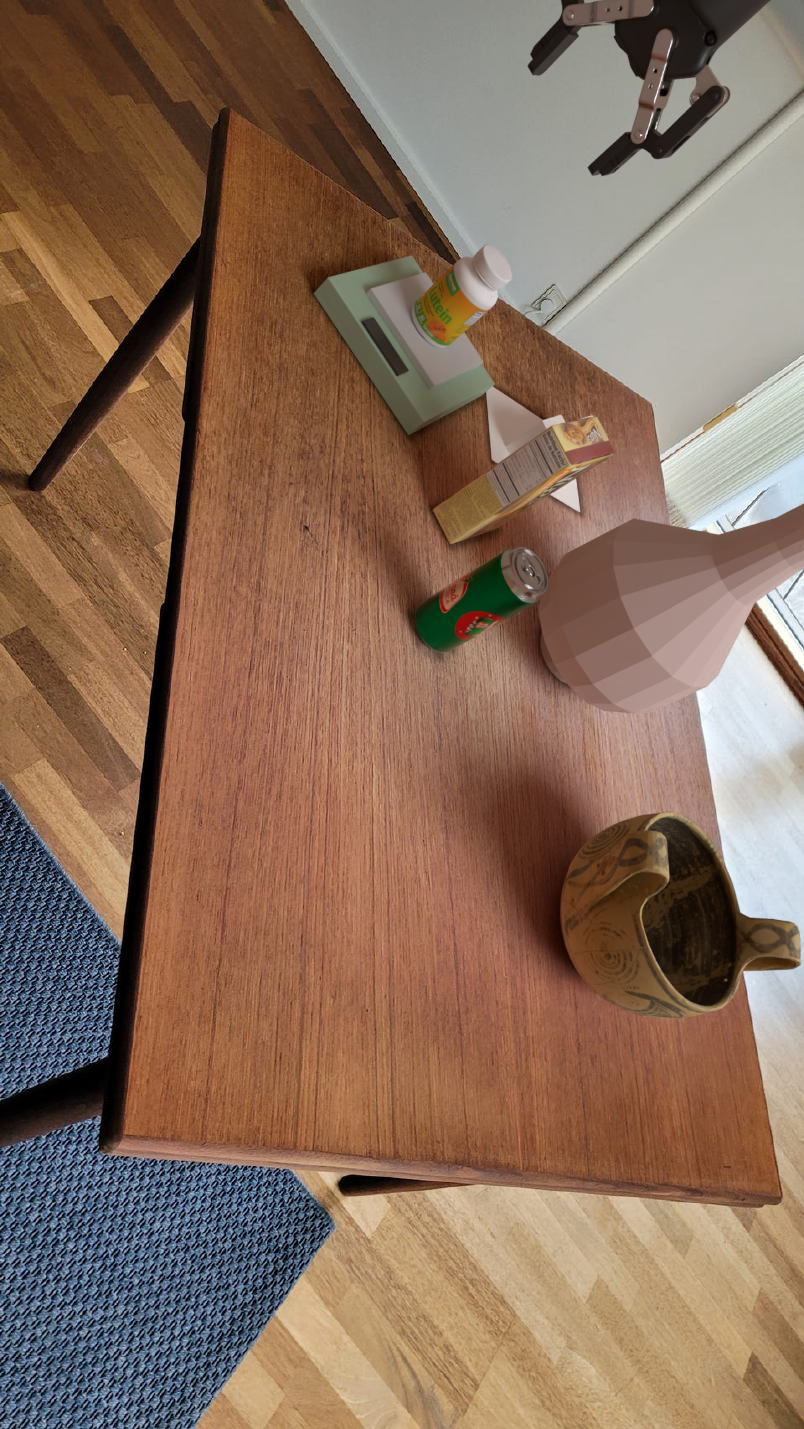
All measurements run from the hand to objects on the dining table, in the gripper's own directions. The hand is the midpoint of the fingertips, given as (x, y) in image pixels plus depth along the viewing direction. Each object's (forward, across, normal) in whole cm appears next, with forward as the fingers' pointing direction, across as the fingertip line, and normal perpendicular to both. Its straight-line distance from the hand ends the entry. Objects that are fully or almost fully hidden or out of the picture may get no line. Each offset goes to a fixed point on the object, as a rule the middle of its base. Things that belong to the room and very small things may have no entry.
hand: (563, 121), depth 70 cm
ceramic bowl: (+27, -57, +21) cm, 67 cm away
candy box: (+27, -21, +1) cm, 34 cm away
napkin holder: (+26, -20, -19) cm, 38 cm away
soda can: (+27, -27, +15) cm, 41 cm away
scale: (+27, -3, -7) cm, 28 cm away
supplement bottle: (+24, -3, -8) cm, 25 cm away
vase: (+27, -38, 0) cm, 47 cm away
